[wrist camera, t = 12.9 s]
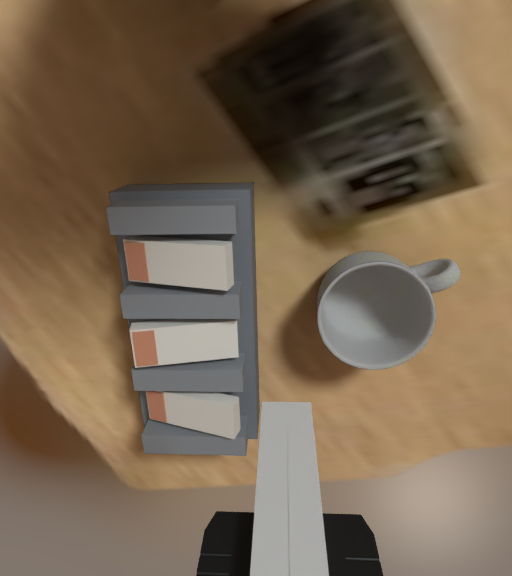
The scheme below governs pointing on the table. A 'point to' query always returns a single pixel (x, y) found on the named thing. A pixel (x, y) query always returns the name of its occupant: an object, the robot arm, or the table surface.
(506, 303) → the table surface
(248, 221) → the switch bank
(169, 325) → the block
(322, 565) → the robot arm
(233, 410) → the rocker
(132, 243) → the rocker
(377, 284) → the teacup
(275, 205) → the table surface
